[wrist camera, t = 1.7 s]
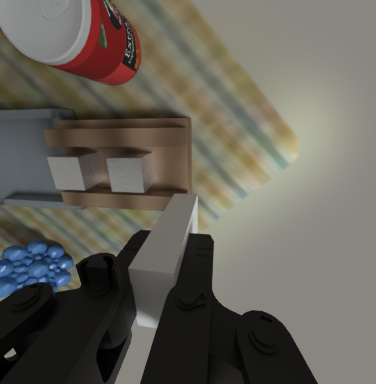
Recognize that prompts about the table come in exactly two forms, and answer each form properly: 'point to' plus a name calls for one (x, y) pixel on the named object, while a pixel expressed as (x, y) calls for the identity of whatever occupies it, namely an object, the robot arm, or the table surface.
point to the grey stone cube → (76, 170)
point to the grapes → (33, 267)
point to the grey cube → (131, 171)
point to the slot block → (130, 142)
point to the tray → (30, 158)
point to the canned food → (74, 37)
